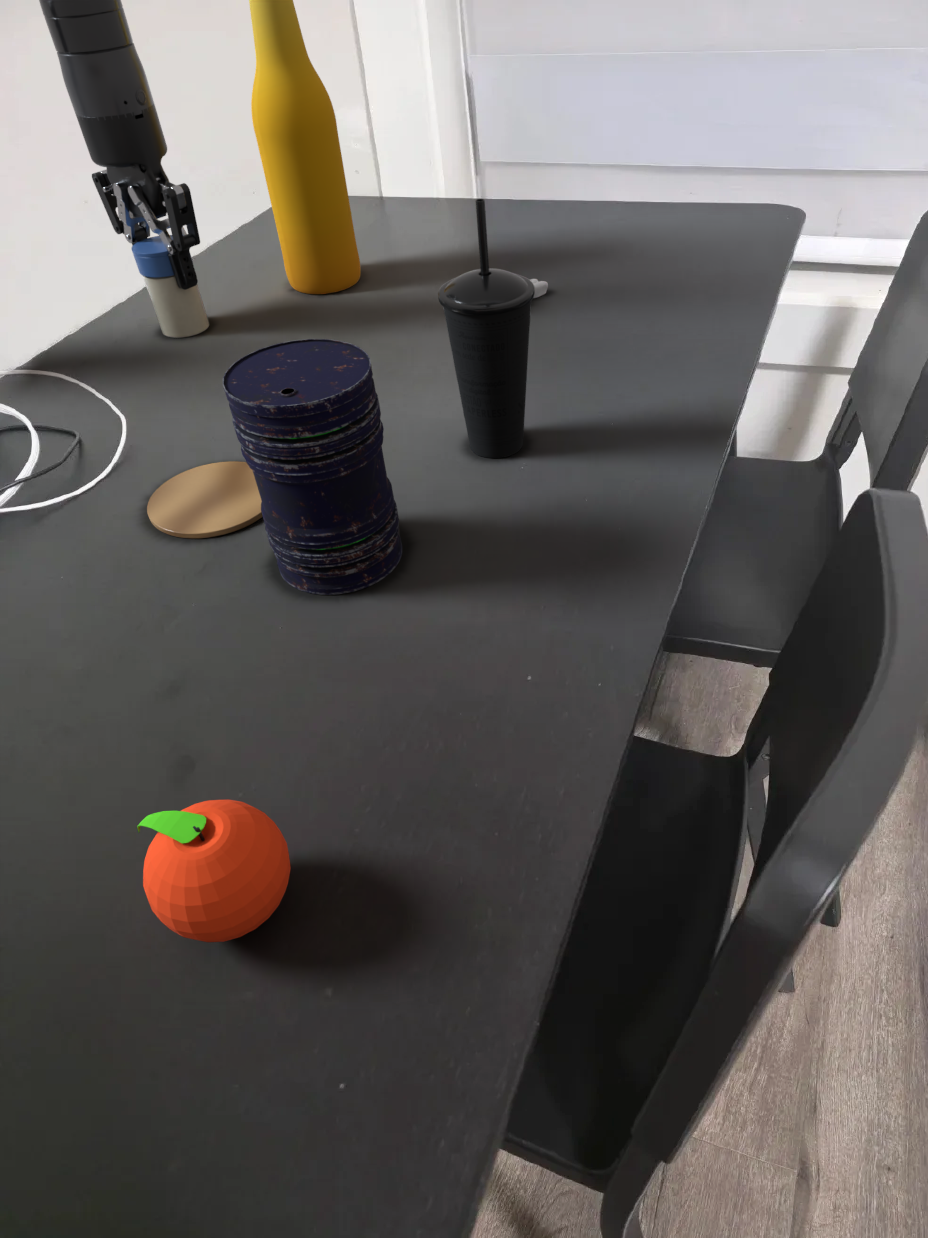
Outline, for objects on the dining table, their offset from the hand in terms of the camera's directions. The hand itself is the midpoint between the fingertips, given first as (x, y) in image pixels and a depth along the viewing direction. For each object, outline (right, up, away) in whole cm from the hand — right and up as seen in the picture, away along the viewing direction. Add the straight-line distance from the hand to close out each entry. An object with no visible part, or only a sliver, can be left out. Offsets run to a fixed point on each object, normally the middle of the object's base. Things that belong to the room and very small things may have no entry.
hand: (171, 280), depth 95 cm
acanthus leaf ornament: (+38, 0, +5) cm, 38 cm away
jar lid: (0, +2, -2) cm, 3 cm away
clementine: (+23, -57, -50) cm, 79 cm away
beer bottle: (+15, +5, +12) cm, 20 cm away
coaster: (+13, -29, -23) cm, 39 cm away
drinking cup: (+37, -24, -18) cm, 47 cm away
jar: (0, -4, +4) cm, 5 cm away
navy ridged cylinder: (+25, -35, -29) cm, 52 cm away
